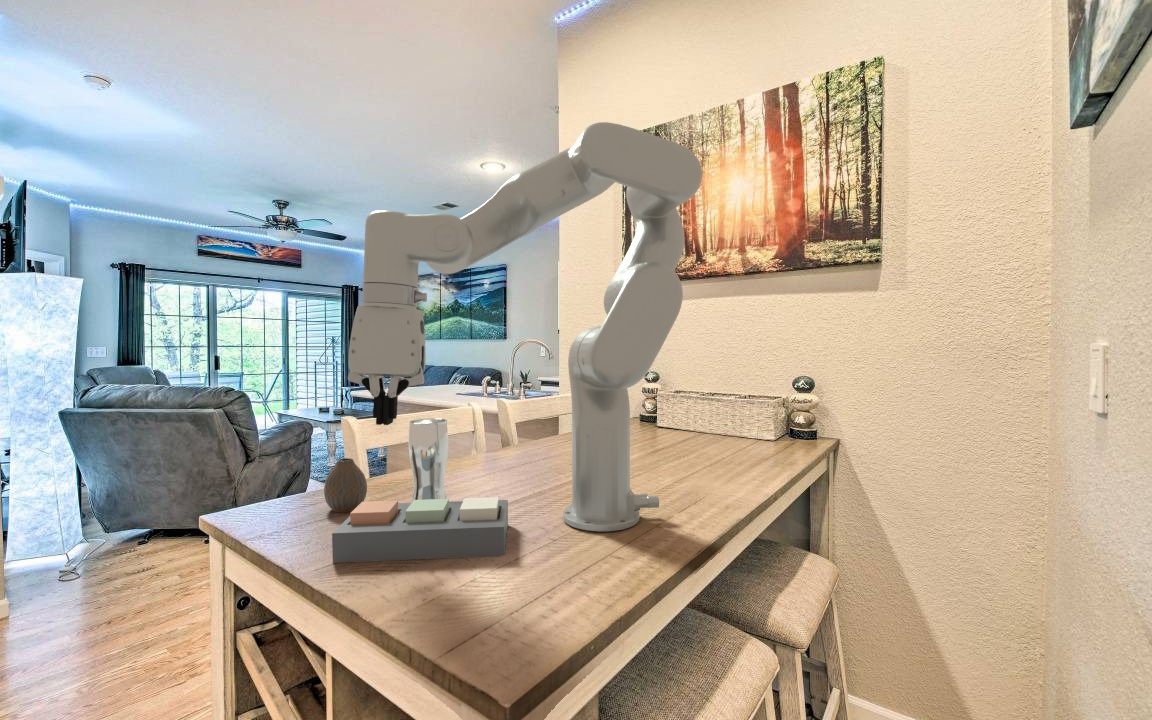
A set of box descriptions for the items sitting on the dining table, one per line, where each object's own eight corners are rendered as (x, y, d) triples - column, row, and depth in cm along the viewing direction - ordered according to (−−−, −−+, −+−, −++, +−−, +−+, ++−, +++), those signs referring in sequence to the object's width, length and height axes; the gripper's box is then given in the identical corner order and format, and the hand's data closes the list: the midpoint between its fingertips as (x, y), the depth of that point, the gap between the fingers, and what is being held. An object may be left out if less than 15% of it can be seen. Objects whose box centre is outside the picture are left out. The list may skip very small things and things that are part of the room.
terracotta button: (398, 526, 77) (398, 500, 76) (389, 539, 71) (388, 511, 71) (362, 528, 76) (362, 501, 76) (350, 541, 71) (350, 513, 71)
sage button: (449, 524, 77) (448, 498, 77) (443, 537, 72) (443, 509, 72) (414, 526, 77) (413, 499, 77) (405, 539, 72) (405, 511, 71)
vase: (351, 516, 86) (350, 464, 85) (315, 513, 87) (314, 463, 87) (375, 503, 92) (374, 455, 92) (341, 501, 94) (340, 454, 94)
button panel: (507, 524, 81) (507, 499, 81) (504, 555, 70) (504, 526, 69) (362, 529, 79) (361, 504, 79) (332, 563, 67) (332, 533, 67)
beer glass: (421, 495, 97) (420, 417, 97) (455, 497, 96) (454, 418, 95) (401, 507, 90) (400, 423, 90) (438, 509, 89) (436, 424, 88)
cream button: (499, 523, 78) (498, 497, 78) (496, 535, 73) (496, 508, 73) (464, 524, 77) (464, 498, 77) (460, 537, 72) (459, 509, 72)
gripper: (446, 304, 79) (441, 421, 79) (347, 298, 78) (342, 418, 78) (437, 299, 71) (431, 429, 72) (326, 293, 70) (321, 425, 70)
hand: (384, 423), depth 75 cm, fingers closed
